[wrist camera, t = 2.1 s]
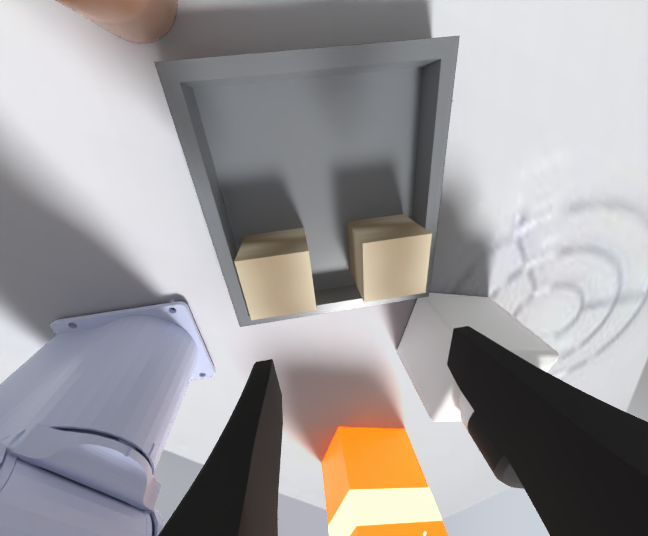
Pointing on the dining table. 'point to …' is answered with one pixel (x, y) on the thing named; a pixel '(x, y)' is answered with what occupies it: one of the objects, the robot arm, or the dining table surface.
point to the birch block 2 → (388, 256)
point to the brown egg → (129, 16)
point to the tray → (314, 149)
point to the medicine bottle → (432, 355)
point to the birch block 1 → (276, 273)
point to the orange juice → (377, 486)
